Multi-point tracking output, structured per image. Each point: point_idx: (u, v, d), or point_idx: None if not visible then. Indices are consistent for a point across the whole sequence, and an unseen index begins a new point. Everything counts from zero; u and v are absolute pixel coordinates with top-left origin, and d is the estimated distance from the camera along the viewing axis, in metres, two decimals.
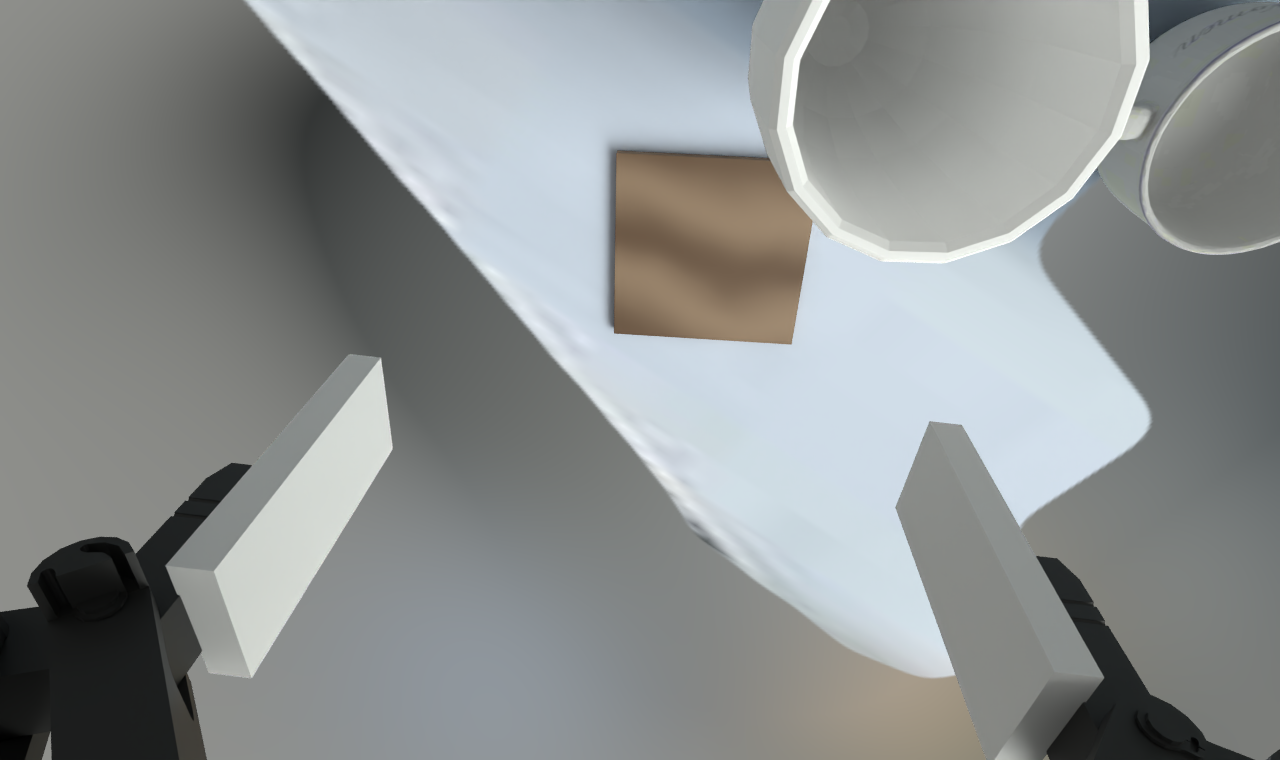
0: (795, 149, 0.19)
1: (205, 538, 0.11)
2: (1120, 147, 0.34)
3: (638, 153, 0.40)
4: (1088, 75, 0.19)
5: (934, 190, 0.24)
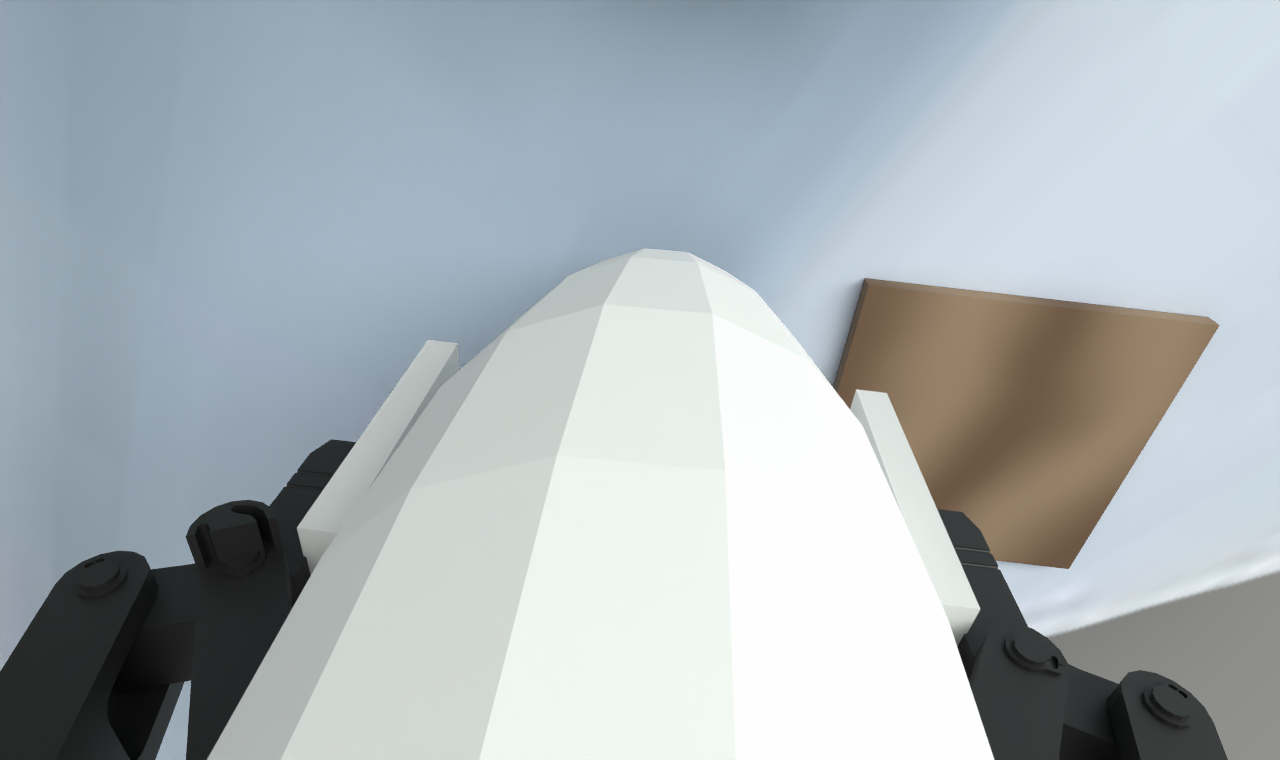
0: None
1: (327, 504, 0.12)
2: None
3: None
4: None
5: None
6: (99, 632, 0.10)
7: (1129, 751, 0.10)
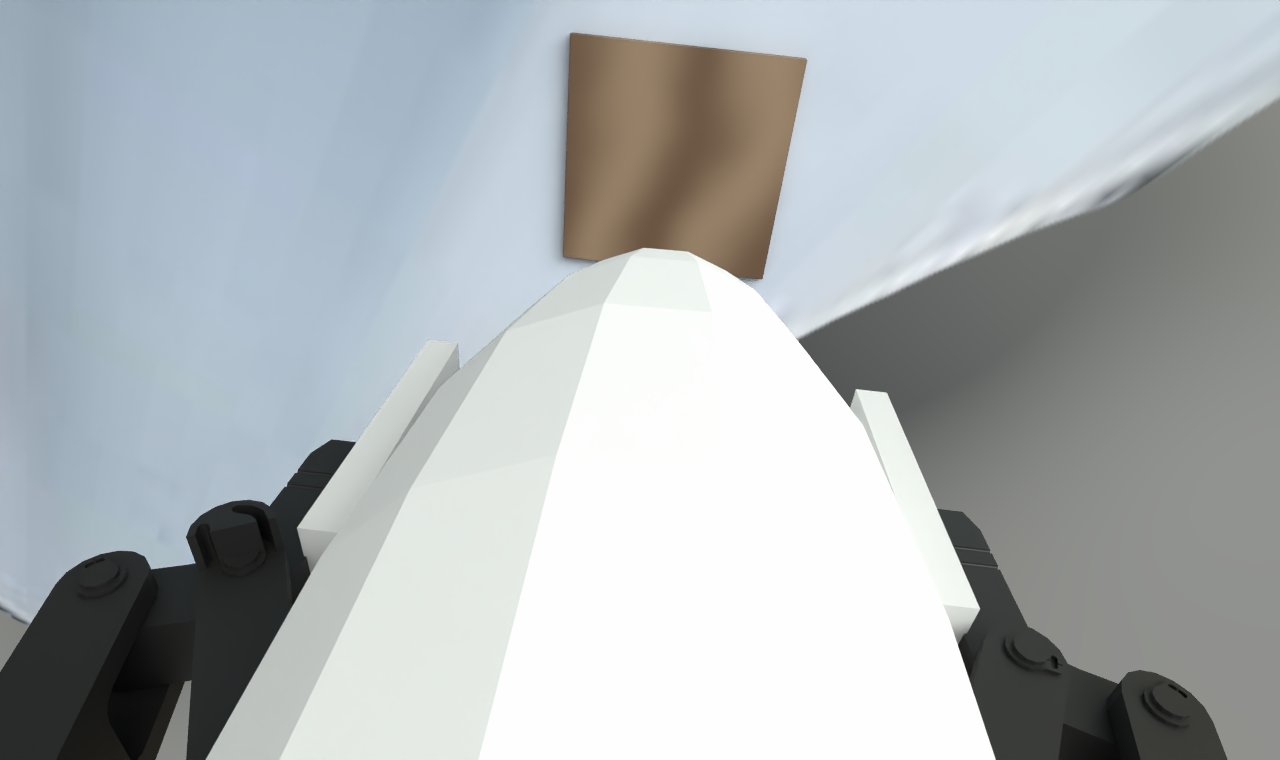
0: None
1: (328, 504, 0.12)
2: None
3: (564, 235, 0.40)
4: None
5: None
6: (99, 632, 0.10)
7: (1128, 751, 0.10)
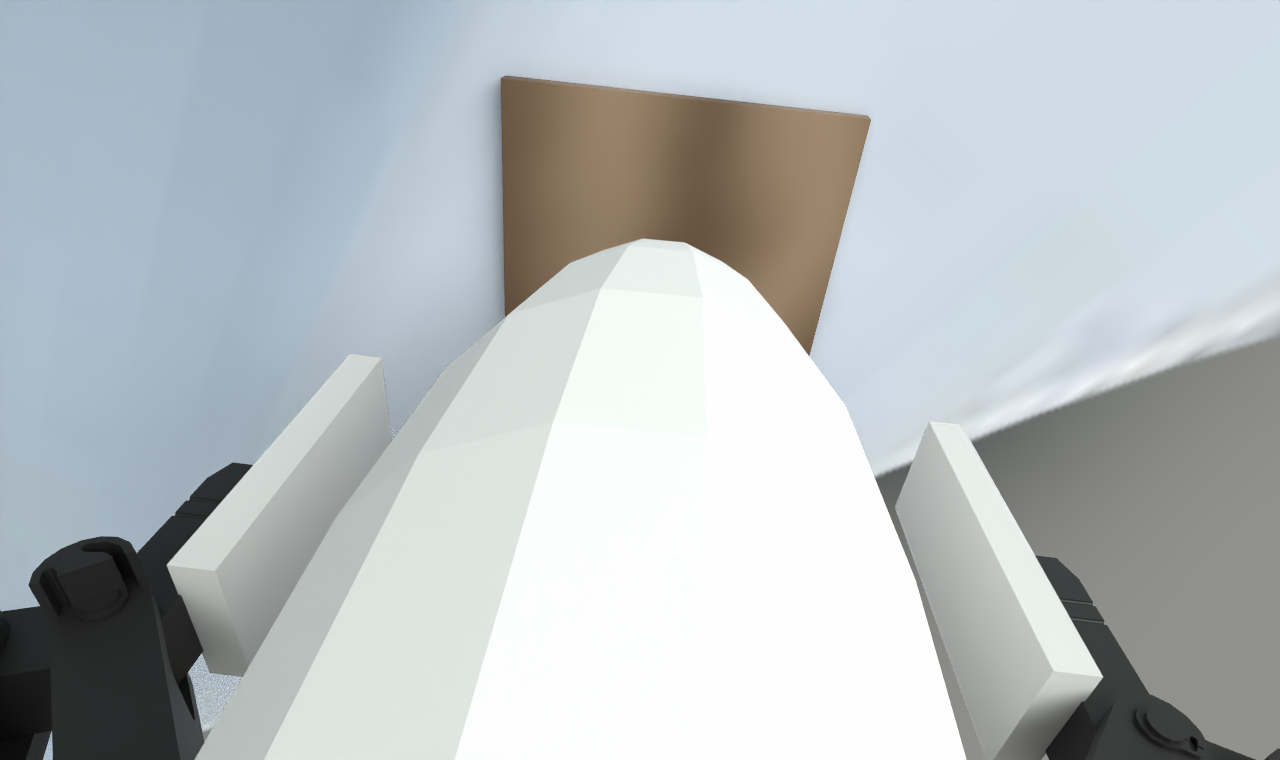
0: None
1: (206, 537, 0.11)
2: None
3: None
4: None
5: None
6: None
7: None
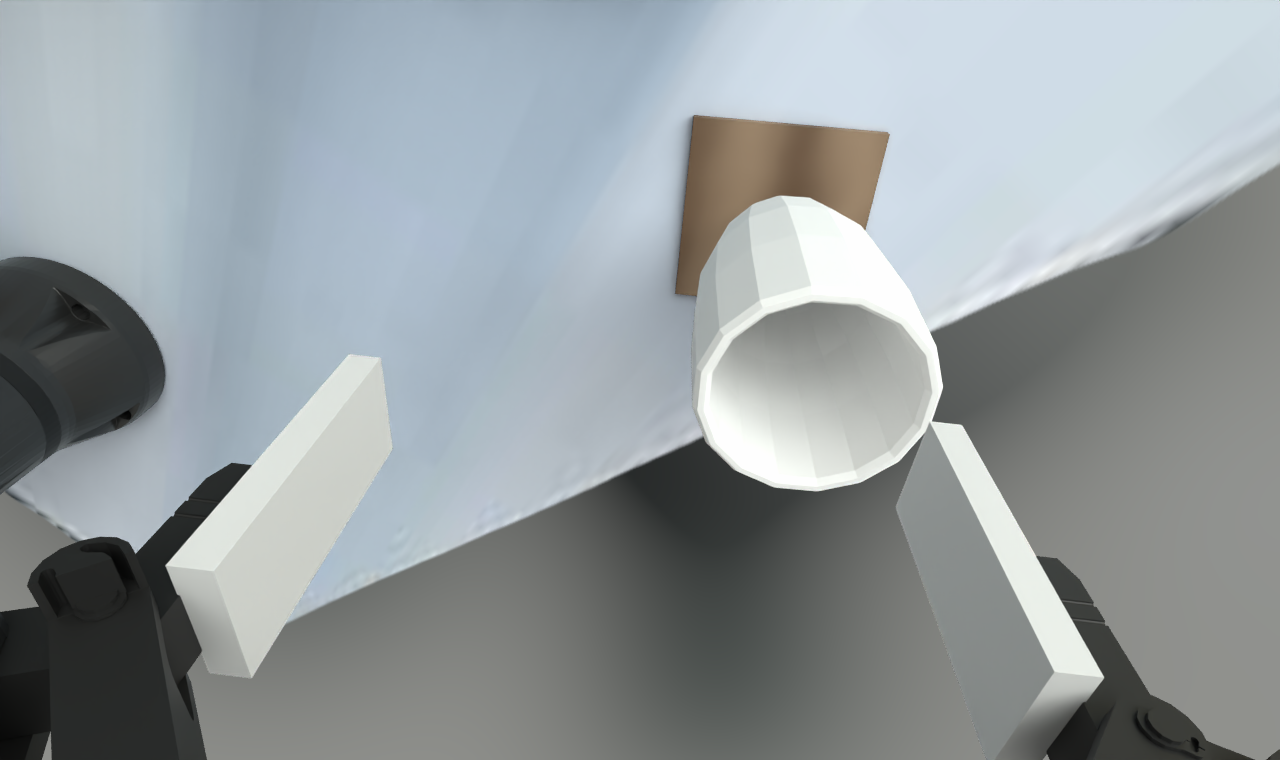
0: (832, 479, 0.29)
1: (205, 538, 0.11)
2: None
3: (677, 276, 0.48)
4: None
5: None
6: None
7: None
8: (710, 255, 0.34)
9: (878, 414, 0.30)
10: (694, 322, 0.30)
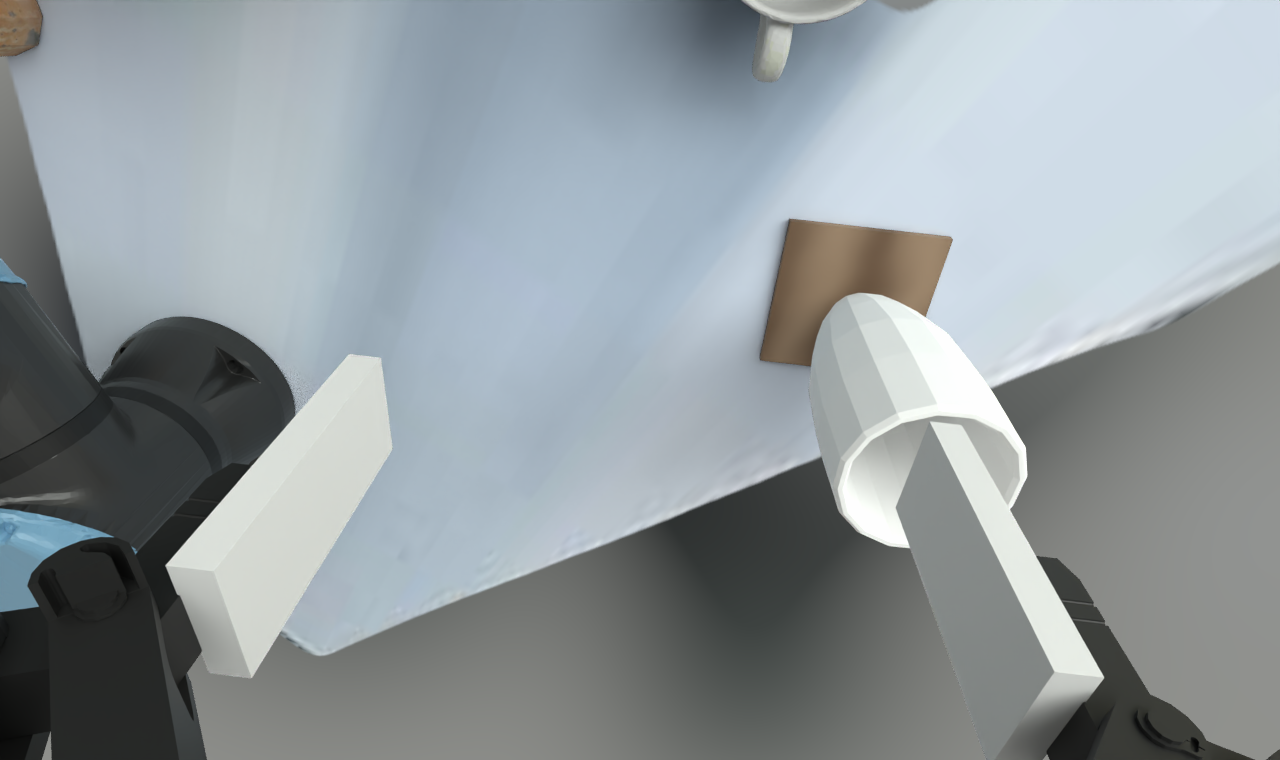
0: None
1: (205, 538, 0.11)
2: None
3: (763, 346, 0.56)
4: None
5: None
6: None
7: None
8: (824, 352, 0.42)
9: None
10: (824, 414, 0.39)
